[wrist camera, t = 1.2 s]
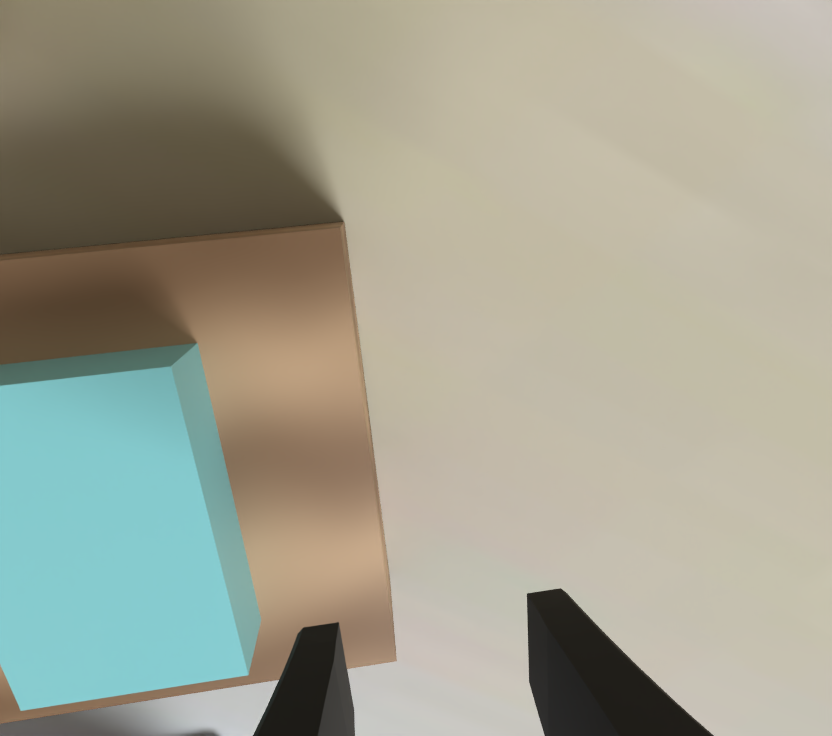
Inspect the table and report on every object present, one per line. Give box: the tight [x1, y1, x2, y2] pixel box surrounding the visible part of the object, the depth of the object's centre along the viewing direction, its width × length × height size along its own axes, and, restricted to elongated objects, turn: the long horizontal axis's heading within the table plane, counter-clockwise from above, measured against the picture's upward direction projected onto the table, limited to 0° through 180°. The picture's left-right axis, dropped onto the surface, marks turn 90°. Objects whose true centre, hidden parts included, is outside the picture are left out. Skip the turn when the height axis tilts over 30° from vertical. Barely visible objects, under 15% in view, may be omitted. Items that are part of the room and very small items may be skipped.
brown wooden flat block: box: [0, 222, 397, 724], centre depth 16 cm, size 14×16×4 cm
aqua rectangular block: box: [0, 343, 261, 711], centre depth 14 cm, size 9×6×2 cm, turn 5°
